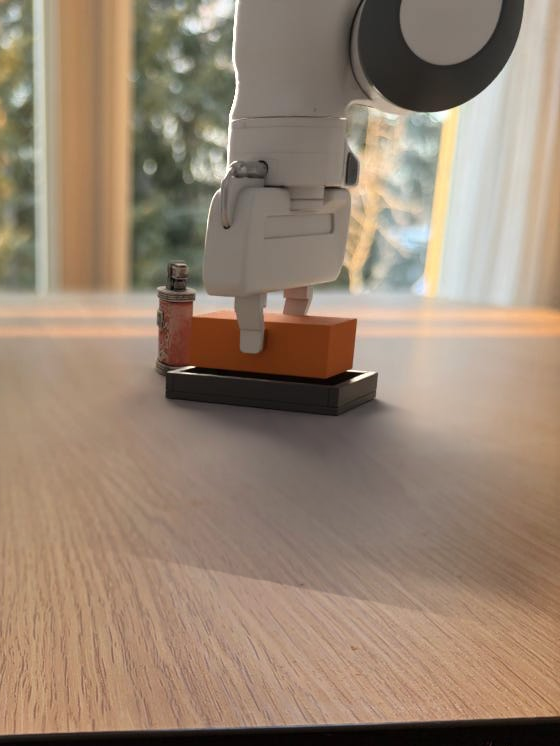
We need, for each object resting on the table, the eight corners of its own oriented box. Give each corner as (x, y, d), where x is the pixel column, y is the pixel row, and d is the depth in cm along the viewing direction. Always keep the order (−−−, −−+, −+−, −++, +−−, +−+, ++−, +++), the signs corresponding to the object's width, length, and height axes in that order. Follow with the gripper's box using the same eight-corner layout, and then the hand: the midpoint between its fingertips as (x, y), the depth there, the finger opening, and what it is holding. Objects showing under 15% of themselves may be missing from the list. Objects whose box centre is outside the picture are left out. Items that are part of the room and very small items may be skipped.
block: (352, 369, 87) (357, 318, 85) (325, 378, 82) (330, 325, 81) (220, 357, 93) (223, 310, 91) (189, 366, 88) (190, 316, 87)
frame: (375, 397, 88) (378, 372, 87) (336, 415, 81) (339, 388, 80) (213, 382, 96) (214, 358, 95) (164, 397, 89) (165, 372, 88)
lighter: (151, 364, 106) (153, 258, 102) (184, 363, 106) (187, 258, 102) (162, 377, 99) (165, 263, 95) (198, 376, 99) (202, 263, 95)
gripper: (267, 158, 72) (254, 366, 77) (368, 164, 88) (351, 336, 93) (185, 160, 75) (178, 359, 80) (296, 165, 91) (284, 332, 96)
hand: (272, 347), depth 87 cm, fingers closed on block, 6 cm apart
